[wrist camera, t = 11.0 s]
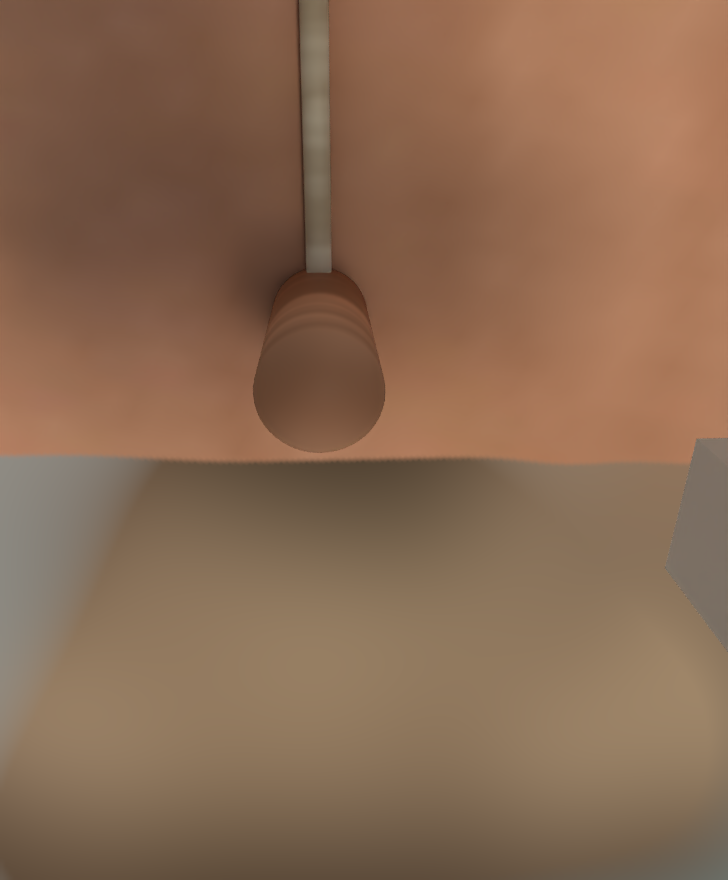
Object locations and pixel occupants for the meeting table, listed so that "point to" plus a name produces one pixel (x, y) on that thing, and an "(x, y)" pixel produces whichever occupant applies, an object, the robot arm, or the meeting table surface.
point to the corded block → (318, 298)
